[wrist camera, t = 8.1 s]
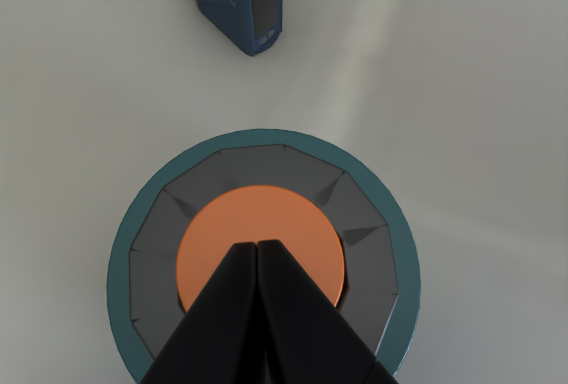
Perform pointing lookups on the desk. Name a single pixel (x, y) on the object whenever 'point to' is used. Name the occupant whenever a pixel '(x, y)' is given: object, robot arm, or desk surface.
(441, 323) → the desk surface
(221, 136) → the teal jar
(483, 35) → the desk surface
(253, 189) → the nozzle
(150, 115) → the desk surface
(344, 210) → the cap
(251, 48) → the vaping device
